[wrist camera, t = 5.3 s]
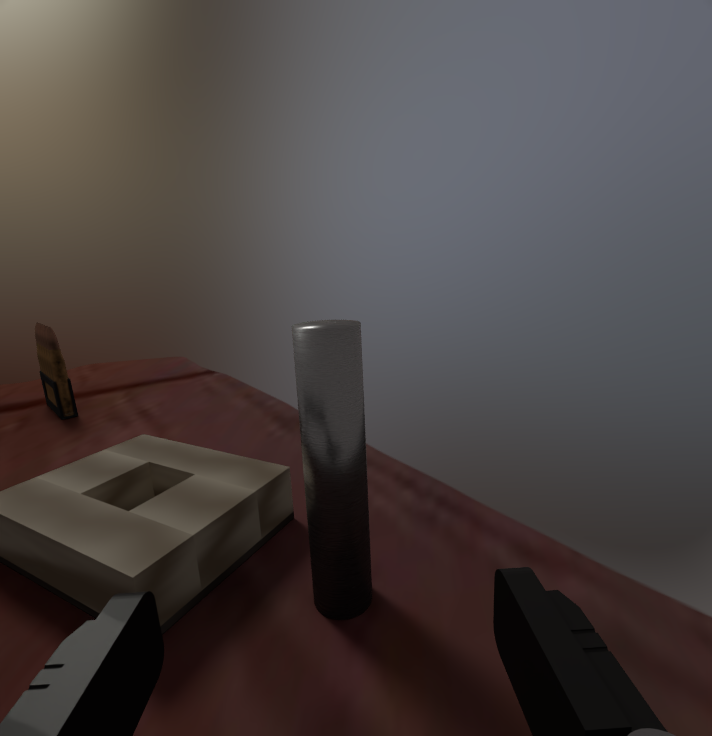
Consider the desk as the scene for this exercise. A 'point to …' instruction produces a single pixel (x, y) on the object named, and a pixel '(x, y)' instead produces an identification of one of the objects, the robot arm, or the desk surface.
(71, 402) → the ammunition clip
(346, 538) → the steel pin
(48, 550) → the socket block
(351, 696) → the desk surface
